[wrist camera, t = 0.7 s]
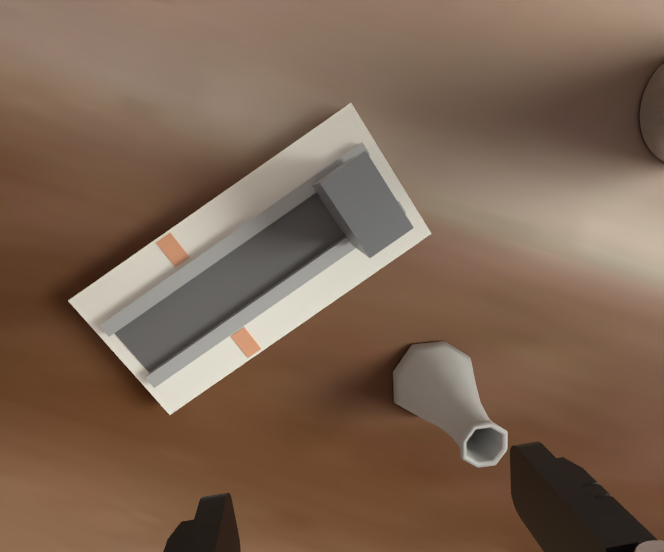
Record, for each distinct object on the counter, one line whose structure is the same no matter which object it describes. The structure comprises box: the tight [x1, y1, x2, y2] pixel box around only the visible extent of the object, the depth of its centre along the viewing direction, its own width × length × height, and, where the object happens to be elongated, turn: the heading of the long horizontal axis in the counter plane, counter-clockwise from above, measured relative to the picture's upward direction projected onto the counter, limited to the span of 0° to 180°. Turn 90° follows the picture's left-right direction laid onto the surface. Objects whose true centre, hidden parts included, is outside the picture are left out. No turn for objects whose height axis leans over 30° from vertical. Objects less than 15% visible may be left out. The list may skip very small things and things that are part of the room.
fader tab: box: [312, 151, 414, 258], centre depth 26 cm, size 3×5×7 cm, turn 34°
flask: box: [393, 341, 508, 468], centre depth 32 cm, size 7×7×10 cm
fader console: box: [68, 103, 431, 415], centre depth 31 cm, size 24×11×4 cm, turn 124°
